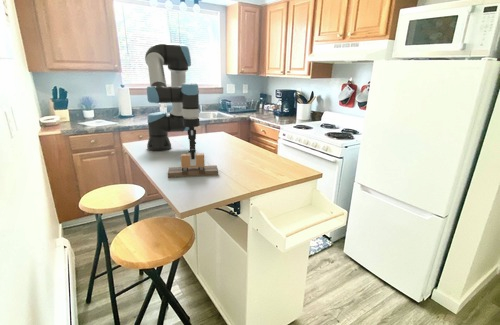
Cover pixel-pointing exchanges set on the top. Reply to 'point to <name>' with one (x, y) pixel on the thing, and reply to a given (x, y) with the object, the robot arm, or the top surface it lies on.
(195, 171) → the rail
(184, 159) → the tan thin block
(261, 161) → the top surface
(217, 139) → the top surface
